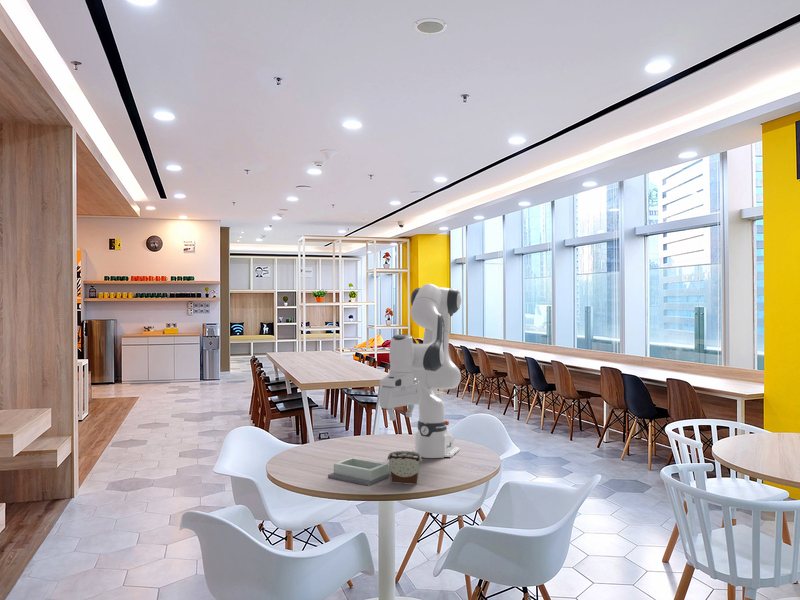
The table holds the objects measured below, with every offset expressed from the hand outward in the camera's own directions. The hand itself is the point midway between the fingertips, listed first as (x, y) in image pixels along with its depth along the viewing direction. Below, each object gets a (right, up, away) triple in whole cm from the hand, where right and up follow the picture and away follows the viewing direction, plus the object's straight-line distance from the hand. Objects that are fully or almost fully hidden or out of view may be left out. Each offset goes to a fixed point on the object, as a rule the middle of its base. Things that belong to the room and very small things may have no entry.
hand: (400, 418), depth 193 cm
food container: (+2, -23, 0) cm, 23 cm away
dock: (-15, -22, +6) cm, 27 cm away
